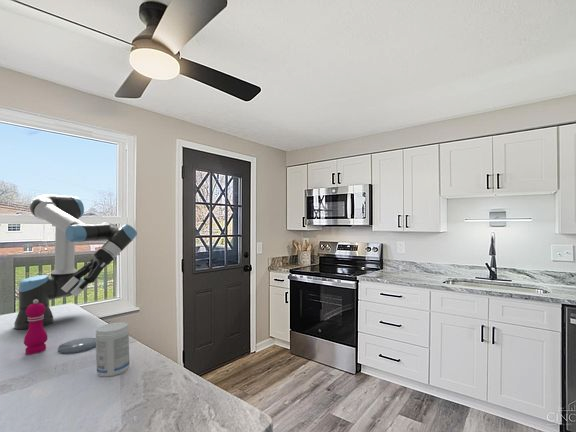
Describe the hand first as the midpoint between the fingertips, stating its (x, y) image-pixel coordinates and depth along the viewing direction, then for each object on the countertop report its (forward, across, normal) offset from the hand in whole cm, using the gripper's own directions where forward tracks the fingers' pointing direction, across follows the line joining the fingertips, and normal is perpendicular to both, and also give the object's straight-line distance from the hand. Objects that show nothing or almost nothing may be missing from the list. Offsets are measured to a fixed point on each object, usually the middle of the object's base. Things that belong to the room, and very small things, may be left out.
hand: (68, 292), depth 132 cm
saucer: (+13, -8, -16) cm, 22 cm away
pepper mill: (+22, 0, -7) cm, 23 cm away
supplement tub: (+13, -42, -16) cm, 47 cm away
